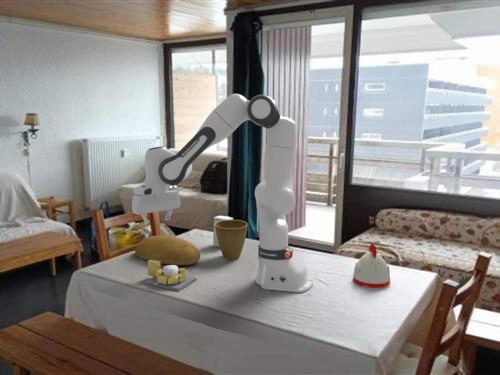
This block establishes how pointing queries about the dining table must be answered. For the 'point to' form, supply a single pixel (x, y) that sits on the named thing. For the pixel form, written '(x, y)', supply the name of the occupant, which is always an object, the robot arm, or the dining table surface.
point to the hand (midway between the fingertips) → (157, 222)
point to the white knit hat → (372, 270)
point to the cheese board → (157, 272)
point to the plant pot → (231, 237)
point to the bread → (168, 250)
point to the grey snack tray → (166, 272)
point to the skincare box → (216, 219)
